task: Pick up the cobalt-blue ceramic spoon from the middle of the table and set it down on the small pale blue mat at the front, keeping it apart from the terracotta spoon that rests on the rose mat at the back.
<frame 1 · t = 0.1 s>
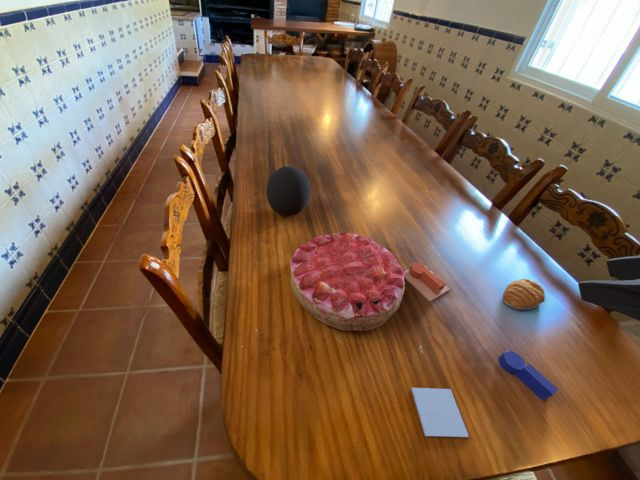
hand: (595, 278, 35), 29 cm above the table, tool tilted 50°, fingers open, 7 cm apart
blue spoon: (522, 377, 55), on the table
blue mat: (438, 411, 50), on the table
pastry: (520, 299, 69), on the table
terracotta spoon: (424, 280, 71), resting on rose mat
rose mat: (424, 282, 71), on the table
decorative egg: (286, 212, 88), on the table
cake: (344, 285, 69), on the table
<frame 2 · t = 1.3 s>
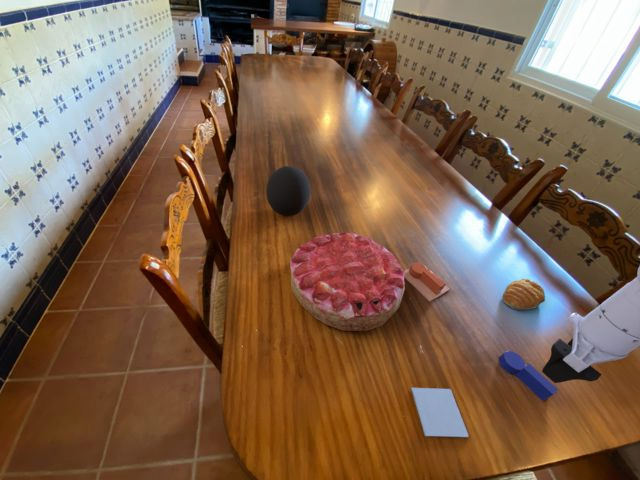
hand: (560, 364, 49), 8 cm above the table, tool pointing down, fingers open, 7 cm apart
nothing on the table moved.
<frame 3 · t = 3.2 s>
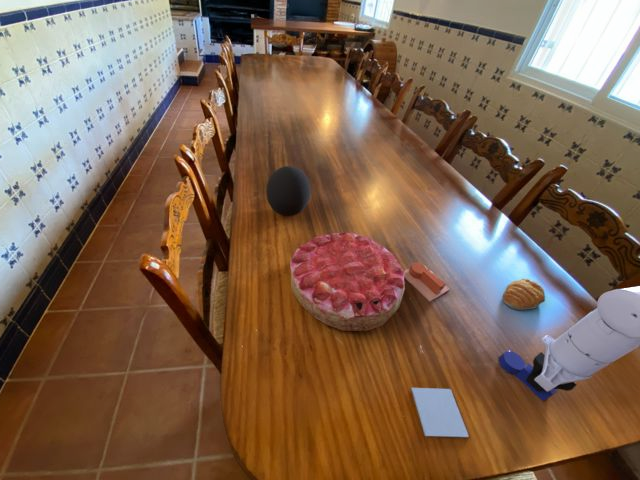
hand: (536, 381, 53), 2 cm above the table, tool pointing down, fingers closed on blue spoon, 2 cm apart
blue spoon: (522, 377, 55), on the table, touching gripper
everything else where it was.
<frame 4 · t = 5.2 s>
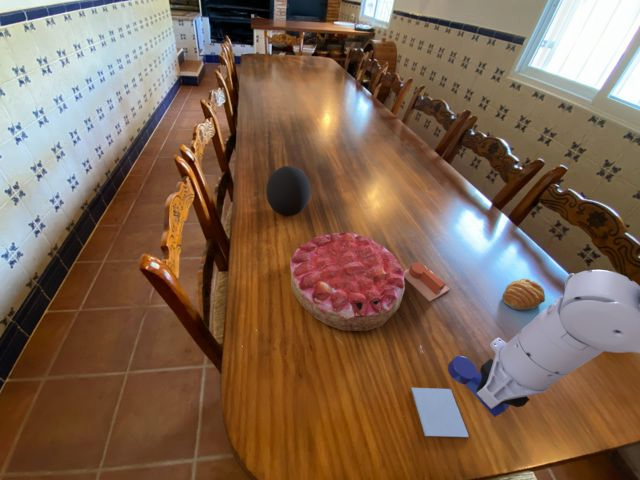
hand: (488, 393, 44), 9 cm above the table, tool pointing down, fingers closed on blue spoon
blue spoon: (473, 387, 46), point 7 cm above the table, touching gripper
everything else where it was.
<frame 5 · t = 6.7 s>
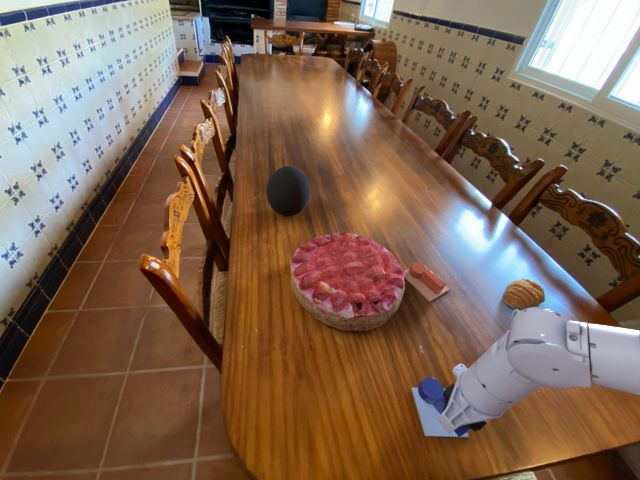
hand: (453, 414, 47), 3 cm above the table, tool pointing down, fingers closed on blue spoon, 2 cm apart
blue spoon: (441, 408, 49), point 2 cm above the table, touching gripper
everything else where it was.
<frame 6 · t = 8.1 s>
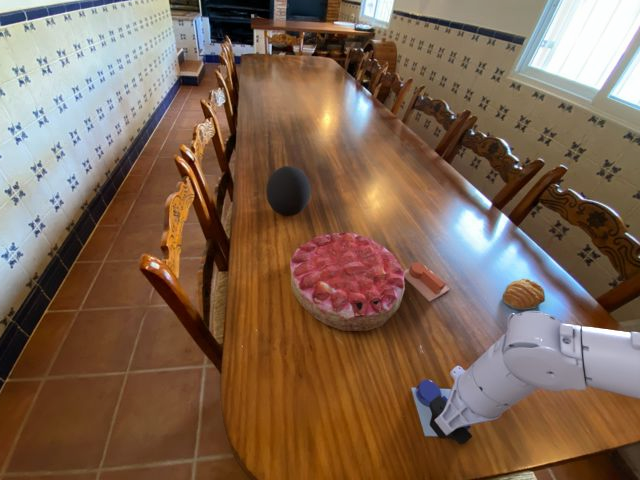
hand: (451, 416, 47), 2 cm above the table, tool pointing down, fingers open, 7 cm apart
blue spoon: (438, 410, 49), resting on blue mat
everything else where it was.
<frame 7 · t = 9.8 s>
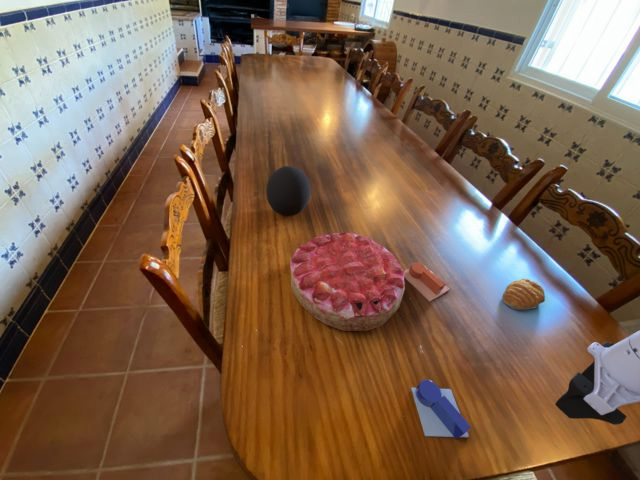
hand: (575, 395, 44), 9 cm above the table, tool pointing down, fingers open, 7 cm apart
nothing on the table moved.
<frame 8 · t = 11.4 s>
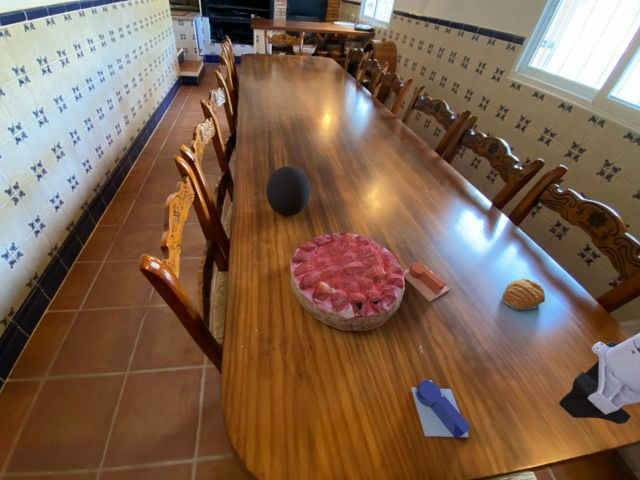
hand: (579, 395, 44), 9 cm above the table, tool pointing down, fingers open, 7 cm apart
nothing on the table moved.
at the end: blue spoon inside the target area on the blue mat (0.1 cm from its centre), point 0.4 cm above the blue mat's base; terracotta spoon inside the target area on the rose mat (0.0 cm from its centre), point 0.4 cm above the rose mat's base; the gripper is holding nothing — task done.
